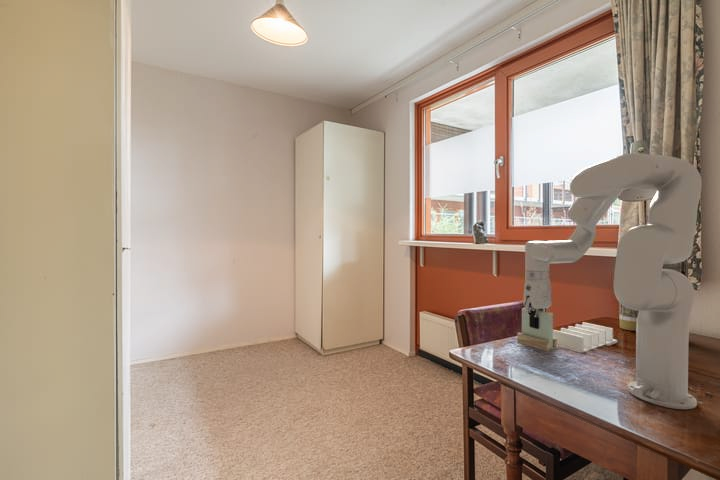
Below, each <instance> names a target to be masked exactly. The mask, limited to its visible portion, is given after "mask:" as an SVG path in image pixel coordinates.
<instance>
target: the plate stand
mask: <svg viewBox="0 0 720 480" xmlns="http://www.w3.org/2000/svg"><path fill="white" fill-rule="evenodd" d="M516 335H517V336H516V342H517V343H519V344H524V345H526V346H530V347H534V348H537V349H540V350H541V351H542V350H543V351H546V352H548V351H551V350H555V349H559V348H560V347H559V346H557V338H553V348H550V349H549V341H548V340H544V339H541V338H537V337H534V336H530V335H527V334H523V333H522V332H517V333H516Z"/></svg>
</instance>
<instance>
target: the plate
mask: <svg viewBox="0 0 720 480" xmlns="http://www.w3.org/2000/svg"><path fill="white" fill-rule="evenodd" d="M524 309H525V307H522V308H521V333H523V334H527V335H530V336H534V337H537V338H541V339H544V340H548V341H549V349H550V348H553V330H554V312H550V311H547V310H546V311H541V310H538V317H539V329H535V328H532V327H530V326H529V315H528V312H526V311H525V310H524ZM533 311H534V310H533Z"/></svg>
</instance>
